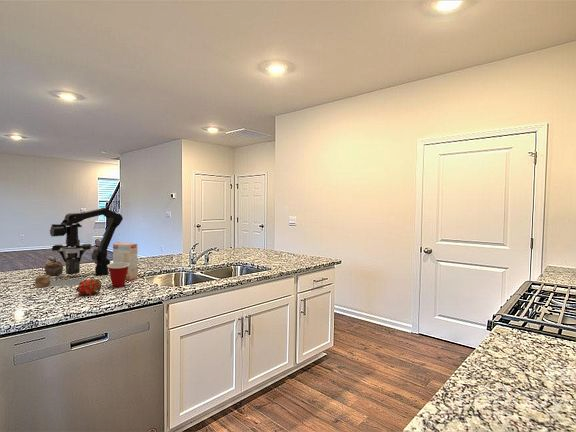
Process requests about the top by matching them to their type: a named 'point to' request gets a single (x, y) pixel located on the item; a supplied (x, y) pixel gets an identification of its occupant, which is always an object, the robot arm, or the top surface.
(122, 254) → the cracker box
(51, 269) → the cupcake
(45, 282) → the walnut block
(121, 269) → the plastic cup
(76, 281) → the gray board
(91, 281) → the dragon fruit
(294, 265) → the top surface
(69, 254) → the supplement bottle
